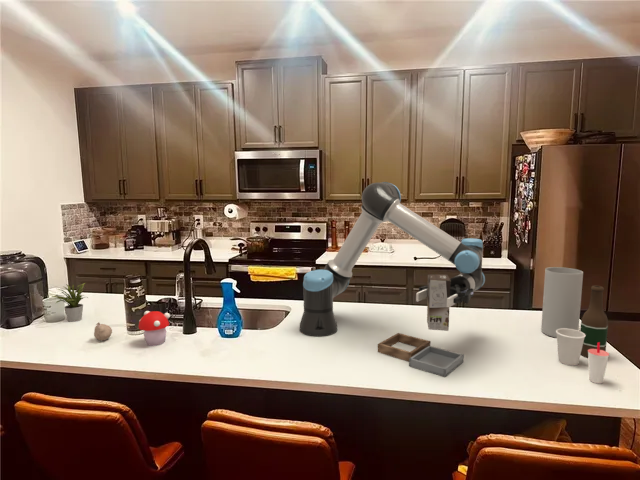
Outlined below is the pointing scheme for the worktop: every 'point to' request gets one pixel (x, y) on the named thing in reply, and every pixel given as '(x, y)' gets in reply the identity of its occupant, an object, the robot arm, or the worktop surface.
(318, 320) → the robot arm
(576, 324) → the cylinder vase
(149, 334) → the mushroom
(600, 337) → the beer bottle
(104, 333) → the garlic bulb
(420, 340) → the brown square frame
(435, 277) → the coffee box
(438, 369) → the tray
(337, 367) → the worktop surface
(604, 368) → the cup
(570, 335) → the dixie cup
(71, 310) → the house plant
